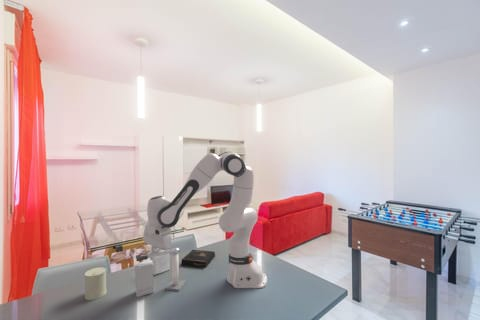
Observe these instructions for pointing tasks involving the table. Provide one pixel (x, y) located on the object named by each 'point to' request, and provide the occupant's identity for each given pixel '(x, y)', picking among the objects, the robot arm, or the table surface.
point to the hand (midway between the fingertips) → (156, 254)
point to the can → (95, 283)
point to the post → (175, 277)
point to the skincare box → (144, 278)
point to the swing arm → (157, 254)
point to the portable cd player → (198, 258)
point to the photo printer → (161, 263)
